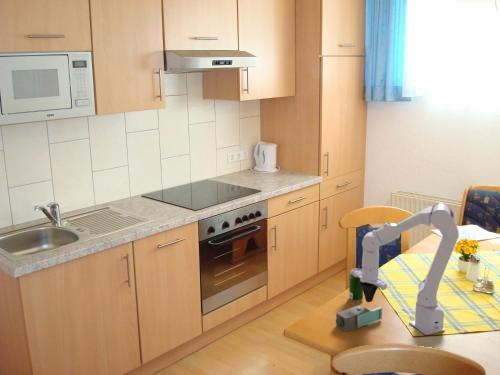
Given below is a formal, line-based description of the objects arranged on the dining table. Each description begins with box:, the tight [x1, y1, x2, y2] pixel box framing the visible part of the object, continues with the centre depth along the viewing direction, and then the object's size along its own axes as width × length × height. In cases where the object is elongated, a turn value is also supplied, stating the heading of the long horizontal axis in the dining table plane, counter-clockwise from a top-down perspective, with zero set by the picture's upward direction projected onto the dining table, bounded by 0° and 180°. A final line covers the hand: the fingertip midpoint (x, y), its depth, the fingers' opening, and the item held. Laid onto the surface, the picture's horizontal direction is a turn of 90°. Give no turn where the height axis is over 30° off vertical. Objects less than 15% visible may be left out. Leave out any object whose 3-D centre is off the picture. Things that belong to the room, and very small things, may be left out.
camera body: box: [335, 304, 370, 332], centre depth 191 cm, size 12×5×6 cm, turn 122°
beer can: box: [348, 267, 364, 303], centre depth 210 cm, size 5×5×12 cm
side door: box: [357, 306, 383, 329], centre depth 191 cm, size 12×1×4 cm, turn 122°
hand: (369, 301), depth 195 cm, fingers closed
